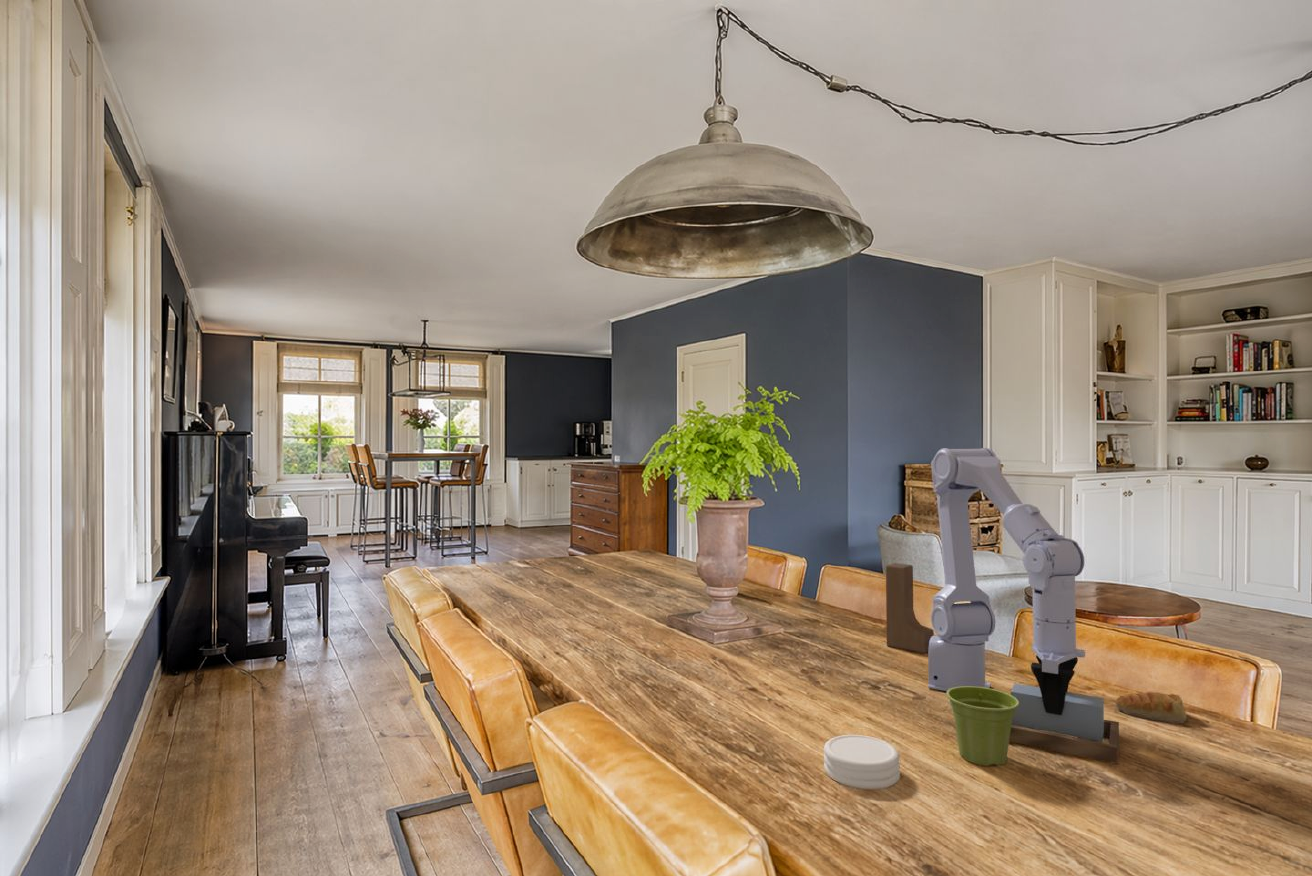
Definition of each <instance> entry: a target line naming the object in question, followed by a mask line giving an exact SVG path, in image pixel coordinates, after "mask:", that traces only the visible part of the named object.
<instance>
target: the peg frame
mask: <svg viewBox="0 0 1312 876" xmlns="http://www.w3.org/2000/svg"><path fill="white" fill-rule="evenodd" d="M1119 724H1120V722H1119V721H1114V720H1109V719H1104V736H1103V737H1107V738H1109V739H1108V743H1106V742H1101V741H1096V740H1090V739H1085V738H1080V737H1075V736H1070V735H1065V734H1060V733H1055V732H1049V731H1044V730H1039V729H1034V728H1029V727H1024V726H1019V725H1014V724H1012V725H1011V731H1010V738H1009V743H1010V742H1011V743H1015V744H1016V743H1017V744H1019V745H1020V744H1021V745H1023V746H1024V745H1025V746H1030V747H1034V748H1038V749H1039V748H1040V749H1044V750H1050V751H1053V752H1058V753H1064V754H1068V755H1073V756H1077V757H1084V758H1086V759H1087V758H1088V759H1091V760H1098V761H1102V762H1107V763H1112V764H1117V765H1118V764H1119V763H1118V762H1119V760H1118V759H1119V745H1120V744H1119V743H1120V725H1119Z"/></svg>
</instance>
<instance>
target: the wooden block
mask: <svg viewBox="0 0 1312 876" xmlns="http://www.w3.org/2000/svg"><path fill="white" fill-rule="evenodd" d="M885 608H886V609H885V610H886V611H885V612H886V613H885V614H886V615H885V616H886V621H885V622H886V623H885V624H886V646H888V647H890V646H891V647H890V648H895V649H900V650H906V651H909V650H910V651H911V652H914V651H915V652H916V653H919V652H920V654H924V653H925V654H928V653H927V652H928V650H929V642H930V639H931V637H932V636H935V634H934V632H935V631H934V629H933V628H930V627H927V626H926V625H925V626H924V625H922V624H921V622H920V621H919V620H918V619H917V618H916V615H915V611H914V567H913V565H912V564H905V563H898V562H895V563H891V564H888V565H886V566H885Z"/></svg>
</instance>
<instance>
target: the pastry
mask: <svg viewBox="0 0 1312 876" xmlns="http://www.w3.org/2000/svg"><path fill="white" fill-rule="evenodd" d="M1114 705H1115V707H1116V708H1117V709H1118V710H1120V711H1121V712H1122V713H1124V714H1126V715H1129V716H1134V717H1139V718H1143V719H1147V720H1155V721H1161V722H1162V721H1163V722H1167V723H1179V724H1181V723H1182V724H1183V723H1185V721H1186V720H1187V713H1186V709H1185V707H1184V704H1183V700H1182V699H1181V697H1180V695H1179V694H1174V693H1169V694H1166V693H1162V692H1155V691H1147V692H1139V693H1130V694H1128V695H1127V694H1126V695H1122V696H1121V695H1120V696H1119V697H1117V699H1115V704H1114Z"/></svg>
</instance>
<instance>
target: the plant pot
mask: <svg viewBox="0 0 1312 876" xmlns="http://www.w3.org/2000/svg"><path fill="white" fill-rule="evenodd" d="M945 692H946V697H947V699H948V700H949V702H950V707H951V708H952V713H953V721H954V726H955V732H956V739H957V746H958V752H959V753H958V754H959V755H960V756H962V757H963V758H964V759H965V761H968V762H970V763H972V764H977V765H980V766H986V767H989V766H991V765H997V766H1002V765H1004V764H1006V762H1007V759H1008V751H1009V743H1010V741H1009V738H1010V731H1011V725H1013V724H1012V718H1013V716H1014V714H1015V709H1016V708H1017V707H1018V706H1019V701H1018V700H1017V699H1016V698H1015V697H1014V696H1012V695H1011V693H1007V692H1004V691H1001V690H997V689H994V688H985V687H974V686H960V687H954V688H951V689H949V690H947V691H945Z"/></svg>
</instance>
